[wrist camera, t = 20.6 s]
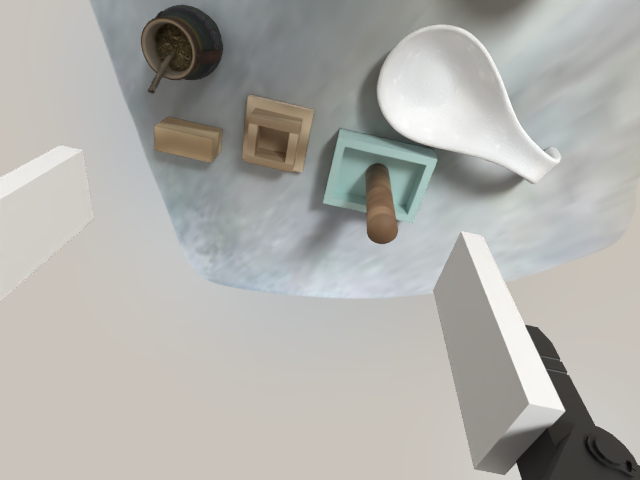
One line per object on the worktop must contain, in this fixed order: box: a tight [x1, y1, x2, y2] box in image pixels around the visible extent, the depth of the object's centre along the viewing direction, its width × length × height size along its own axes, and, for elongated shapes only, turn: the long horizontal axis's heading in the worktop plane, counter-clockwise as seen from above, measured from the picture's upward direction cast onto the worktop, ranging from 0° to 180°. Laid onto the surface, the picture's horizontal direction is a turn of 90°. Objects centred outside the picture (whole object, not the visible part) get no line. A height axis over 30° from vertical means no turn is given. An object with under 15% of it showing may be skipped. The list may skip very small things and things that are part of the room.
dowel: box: [365, 163, 398, 244], centre depth 44 cm, size 3×3×14 cm
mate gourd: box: [141, 5, 223, 93], centre depth 40 cm, size 7×8×10 cm
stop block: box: [154, 117, 223, 163], centre depth 49 cm, size 3×7×4 cm, turn 79°
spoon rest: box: [377, 24, 561, 184], centre depth 43 cm, size 24×12×7 cm, turn 59°
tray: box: [323, 128, 438, 223], centre depth 49 cm, size 9×12×3 cm
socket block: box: [242, 95, 314, 173], centre depth 48 cm, size 8×8×4 cm
